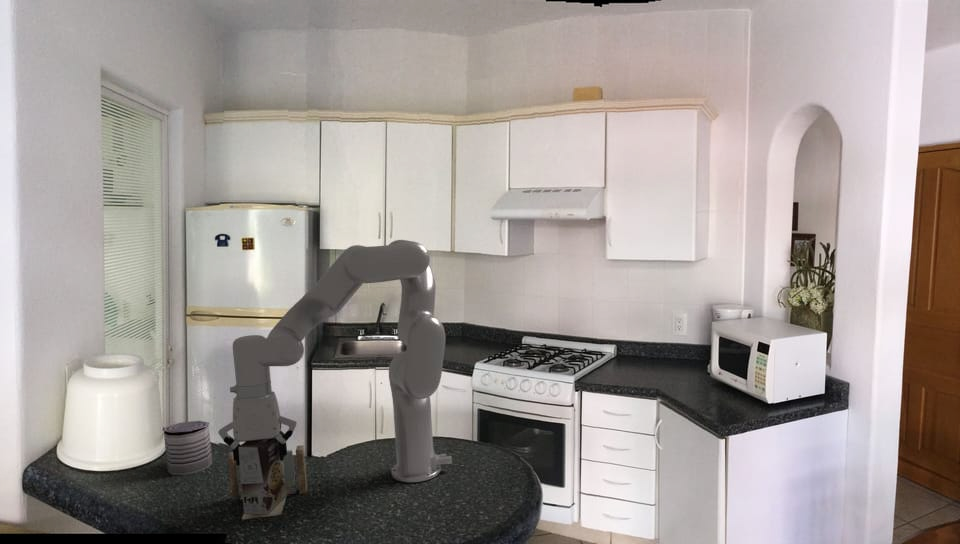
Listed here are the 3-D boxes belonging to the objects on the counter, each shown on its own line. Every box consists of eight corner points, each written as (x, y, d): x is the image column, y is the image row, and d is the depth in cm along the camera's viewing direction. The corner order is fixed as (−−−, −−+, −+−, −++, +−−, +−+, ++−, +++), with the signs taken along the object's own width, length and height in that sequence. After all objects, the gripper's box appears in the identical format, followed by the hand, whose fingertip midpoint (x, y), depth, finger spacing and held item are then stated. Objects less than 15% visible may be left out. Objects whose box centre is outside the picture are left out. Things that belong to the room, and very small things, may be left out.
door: (241, 494, 155) (238, 459, 154) (242, 492, 156) (238, 457, 155) (295, 486, 158) (292, 451, 157) (295, 483, 160) (292, 449, 159)
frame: (307, 487, 160) (303, 443, 158) (306, 492, 157) (302, 448, 155) (233, 496, 157) (229, 451, 156) (231, 501, 154) (226, 456, 153)
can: (158, 471, 174) (153, 428, 173) (194, 455, 184) (190, 415, 183) (185, 478, 169) (181, 434, 167) (221, 461, 179) (217, 420, 177)
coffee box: (269, 515, 145) (262, 447, 143) (243, 514, 147) (236, 446, 145) (287, 496, 154) (282, 432, 152) (263, 495, 155) (257, 431, 154)
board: (287, 495, 156) (286, 493, 156) (280, 514, 146) (280, 513, 146) (250, 499, 155) (250, 497, 155) (242, 519, 145) (241, 517, 145)
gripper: (210, 398, 142) (218, 471, 144) (290, 390, 145) (297, 463, 147) (218, 388, 149) (226, 458, 151) (295, 381, 152) (301, 450, 154)
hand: (261, 460), depth 149 cm, fingers open, 9 cm apart
